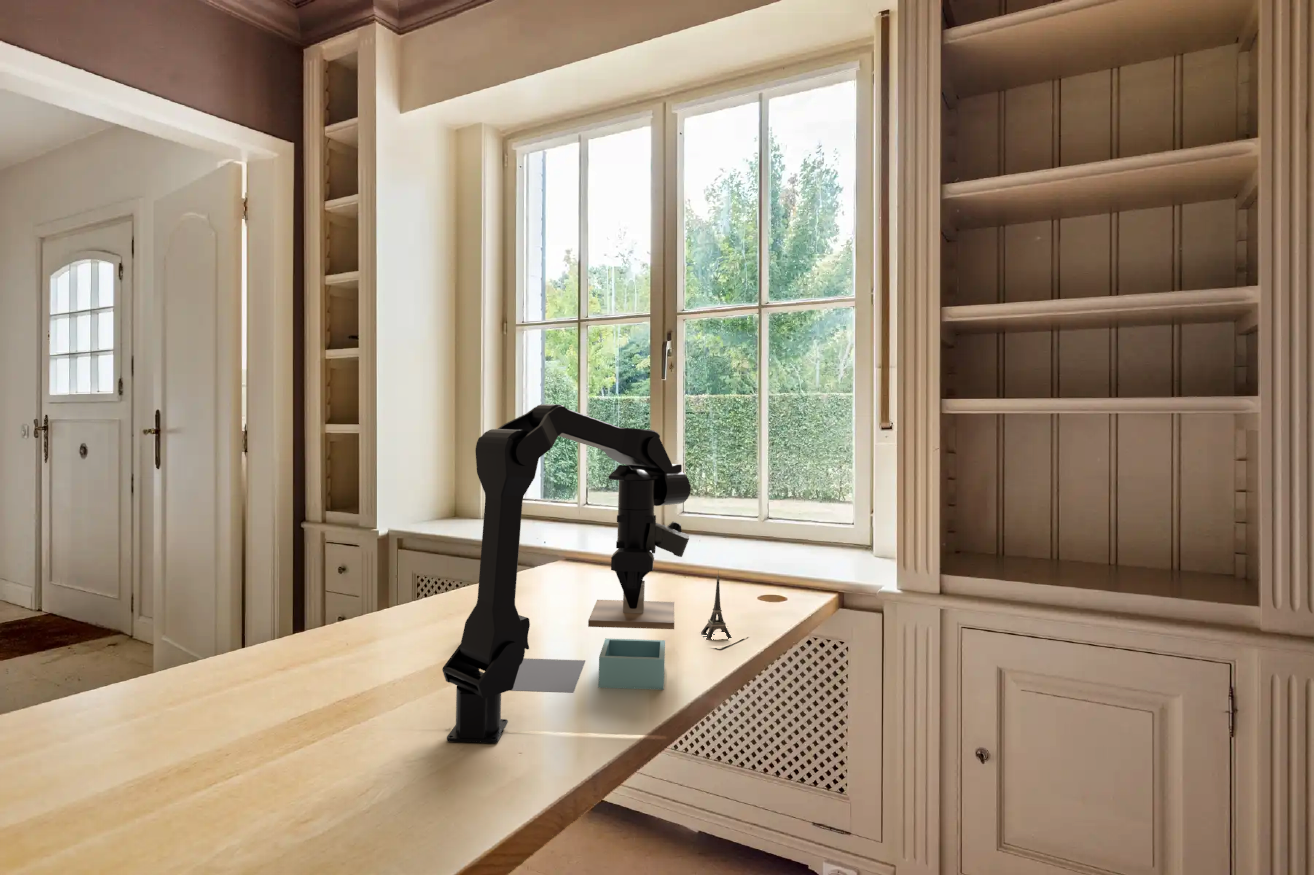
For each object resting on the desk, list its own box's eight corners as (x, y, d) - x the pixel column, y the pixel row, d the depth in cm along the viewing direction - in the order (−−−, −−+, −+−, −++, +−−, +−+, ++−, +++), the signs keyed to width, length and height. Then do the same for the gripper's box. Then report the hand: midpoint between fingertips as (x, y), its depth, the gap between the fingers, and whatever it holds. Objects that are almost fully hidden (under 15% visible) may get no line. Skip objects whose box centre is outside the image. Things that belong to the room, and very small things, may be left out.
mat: (573, 695, 111) (573, 692, 111) (474, 691, 111) (474, 689, 111) (585, 662, 126) (585, 660, 126) (497, 659, 126) (497, 657, 126)
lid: (674, 629, 111) (675, 593, 111) (588, 626, 111) (589, 590, 111) (674, 607, 124) (674, 575, 124) (597, 605, 124) (597, 573, 124)
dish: (663, 692, 113) (664, 659, 113) (598, 689, 113) (599, 657, 113) (664, 670, 123) (665, 640, 123) (604, 668, 123) (605, 638, 123)
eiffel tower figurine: (721, 654, 134) (723, 580, 134) (674, 643, 140) (676, 573, 140) (759, 636, 146) (761, 568, 146) (715, 626, 152) (717, 562, 152)
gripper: (687, 516, 108) (685, 623, 108) (685, 503, 127) (683, 593, 127) (612, 514, 108) (609, 620, 109) (620, 501, 127) (618, 591, 127)
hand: (633, 605), depth 118 cm, fingers closed on lid, 3 cm apart
